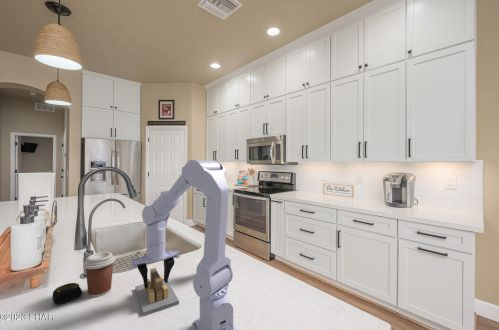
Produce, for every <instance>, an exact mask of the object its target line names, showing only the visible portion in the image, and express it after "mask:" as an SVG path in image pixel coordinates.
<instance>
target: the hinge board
mask: <svg viewBox="0 0 499 330" xmlns="http://www.w3.org/2000/svg"><path fill="white" fill-rule="evenodd" d="M159 276H160V277H161V279H162V301H158V302H157V301H156V299H155V297H154V290H153V289H151V287H150V278H147V282H148V288H146V289H145V287H144V283H143V284H139V285H136V286H135V292H136V293H135V294H136V296H137V299H138V302H139V303H138V304H139V306H140V309H141V313H142V315H143V317H144V316H147V315H151V314H153V313H156V312H160V311H162V310H163V311H164V310H165V309H168V308H171V307H174V306H177V305H179V304H180V300H179V298H178V296H177V295H176V293H175V291H174V290H173V288H172V286H171V284H170V283H169V281H168V282H167V283H165V281H164V277H163V276H162V275H159Z"/></svg>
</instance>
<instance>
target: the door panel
mask: <svg viewBox="0 0 499 330" xmlns="http://www.w3.org/2000/svg"><path fill="white" fill-rule="evenodd" d="M149 272H150V275H149V276H150V278H149V281H150V287H151V289H153V290H154V297H155V299H156V301H157V302H158V301H162V279H161V277H160V276H161V275H160V274H159V272H158V270H157V268H156V267H154V268H150V270H149Z"/></svg>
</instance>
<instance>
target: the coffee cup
mask: <svg viewBox="0 0 499 330" xmlns="http://www.w3.org/2000/svg"><path fill="white" fill-rule="evenodd" d="M116 259H117V257H116V256H114V255H113V253H112V252H110V251H100V252H95V253H93V254H90V255H88V257H87V258H86V260H85V261H84V262H83V264H82V268H84V269H85V274H86V275H85V276H86V285H87V295H88V297H90V298H97V297H98V298H99V297H102V296H105V295H107V294H108V293H110V292H111V291H112V281H113V272H114V270H113V269H114V263H115V262H116Z"/></svg>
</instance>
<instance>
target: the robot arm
mask: <svg viewBox="0 0 499 330" xmlns="http://www.w3.org/2000/svg"><path fill="white" fill-rule="evenodd" d="M226 172H227V170H226V167H225V166H224V165H223V163H221V162H220V161H219V160H218V159H211V160H210V159H209V160H208V159H207V160H205V159H204V160H203V159H202V160H201V159H200V160H198V159H189V160H188V161H187V162H186V163H185V165H184V166H182V167H181V174H180V175H179V176H178V178H177V180H176V181H175V182H174V184H173V185H172V186H171V187H170V189H165V190H162V191H160V195H159V196H158V197H157V198H156V199H155V200H154V201H153V202H152V204H150V205H145V206H144V207H143V209H142V211H141V218H142V221H143V223H144V224H145V226H146V227H145V233H146V234H145V237H146V238H145V242H146V243H145V246H146V247H145V252H146V254H145V255H141V256H139V257H137V258H134V259H129V260H130V261H129V262H130V263H129V265H130V269H135V268H136V267H137V270H138V272H139V274H140V275H141V278H142V281H143V284H144V287H145V289H146V288H148V282H147V279H148V271H149V269H148V264H153V263H157V262H162V261H163V269H164V270H163V279H164V281H165V283H167V282H168V283H169V278H170V274H171V271H172V269H173V267H174V265H175V259H180V251H179V249H178V250H169V251H168V250H167V251H166V227H167V225H168V220H169V218H170V215H171V214H170V213H171V212H172V211H173V210H174V209H175V208H176V206H178V205H179V203H180V197H181V196H182V195H183V194H185V192H186V191H188V189H190V188H191V187H194V188H195V189H196V190H198V191H199V192H201V193H202V194H204V196H205V197H206V204H205V205H206V207H205V226H204V240H203V241H204V242H203V243H204V245H203V257H202V258H201V260H200V261H199V262H198V264H197V266H196V269H195V270H196V272H195V275H194V276H193V279H192V280H193V281H192V286H193V290H194V292H195V294H196V295H197V297H199V317H197V318H195V319H194V320H193V321H194V322H193V323H194V324H195V326H196V328H197V329H198V330H237V328H236V327H235V325H234V307H233V305H232V303H231V301H230V300H229V297H228V289H229V284H230V283H231V282H232V280H233V275H234V272H233V269H232V266H231V265H232V263H231V261H232V260H231V258H230V257H228V256H227V255H226V241H227V240H226V239H227V227H228V224H227V222H228V210H229V209H228V208H229V187H228V183H227V180H226Z"/></svg>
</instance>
